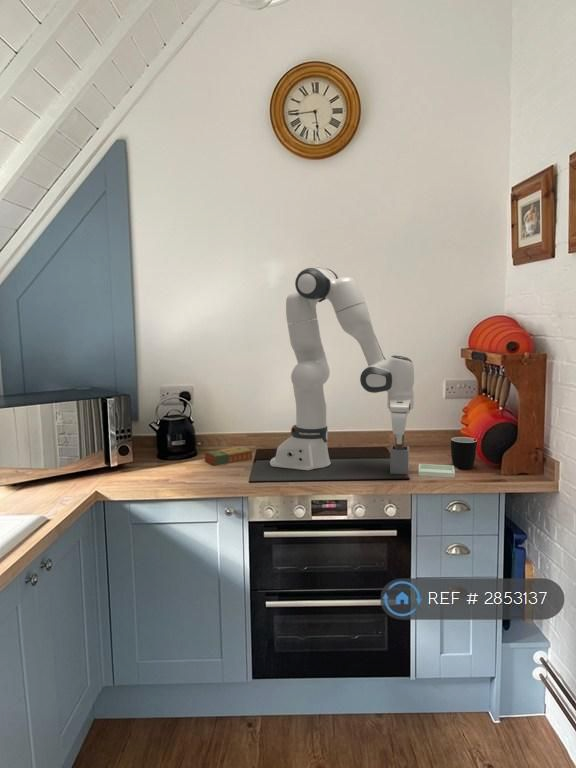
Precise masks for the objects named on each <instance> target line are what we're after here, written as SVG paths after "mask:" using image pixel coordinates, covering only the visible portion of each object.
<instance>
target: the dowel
mask: <svg viewBox="0 0 576 768" xmlns="http://www.w3.org/2000/svg"><path fill="white" fill-rule="evenodd" d="M394 436H395V437H394V438H395V440H394V442H395V443H394V446H395V449H398V450H404V446H405V434H404V435H402V444H397V438H396V435H394Z"/></svg>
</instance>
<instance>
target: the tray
mask: <svg viewBox="0 0 576 768" xmlns="http://www.w3.org/2000/svg"><path fill="white" fill-rule="evenodd" d="M417 473H418V475H417V476H420V477H435V478H437V477H438V478H452V479H453V478H454V479H455V478H456V472H455V466H454V465H453V464H452V465H449V464H428V463H418V471H417Z"/></svg>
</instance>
